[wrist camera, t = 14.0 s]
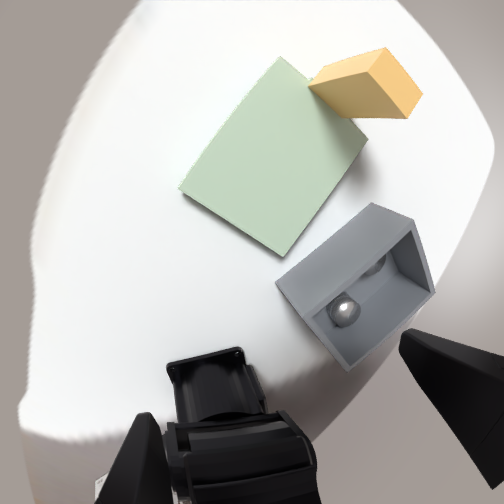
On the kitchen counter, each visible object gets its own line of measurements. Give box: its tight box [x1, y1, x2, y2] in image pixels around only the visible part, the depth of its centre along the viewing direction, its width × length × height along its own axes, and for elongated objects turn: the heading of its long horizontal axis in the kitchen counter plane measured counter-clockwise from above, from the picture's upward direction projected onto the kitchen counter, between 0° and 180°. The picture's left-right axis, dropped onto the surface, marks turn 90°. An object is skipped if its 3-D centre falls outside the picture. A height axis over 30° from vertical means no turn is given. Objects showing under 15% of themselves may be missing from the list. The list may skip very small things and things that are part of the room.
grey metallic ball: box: [326, 292, 361, 327], centre depth 24 cm, size 2×2×2 cm
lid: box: [178, 47, 423, 257], centre depth 16 cm, size 12×8×8 cm
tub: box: [275, 203, 435, 373], centre depth 22 cm, size 10×8×5 cm
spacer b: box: [365, 254, 386, 275], centre depth 23 cm, size 2×2×2 cm
